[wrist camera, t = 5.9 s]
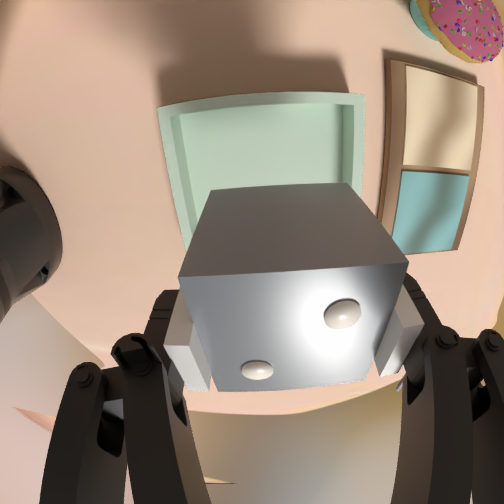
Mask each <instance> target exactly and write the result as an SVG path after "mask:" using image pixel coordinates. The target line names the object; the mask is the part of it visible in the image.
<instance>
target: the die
mask: <svg viewBox="0 0 504 504" xmlns="http://www.w3.org/2000/svg"><path fill="white" fill-rule="evenodd" d="M408 264H409V261H408V260H407V258H406V257H405V255H404V254H403V253H402V251H401V250H400V248H399V247H398V246H397V244H396V243H395V242H394V240H393V239H392V238H391V236H390V235H389V233H388V232H387V231H386V230H385V228H384V227H383V226H382V224H381V223H380V222H379V220H378V219H377V218H376V217H375V215H374V214H373V213H372V212H371V210H370V209H369V208H368V207H367V205H366V204H365V203H364V202H363V201H362V199H361V198H360V197H359V196H358V195H357V193H356V192H355V191H354V190H353V189H352V188H351V186H350V185H349V184H348V183H312V184H287V185H269V186H254V187H240V188H228V189H217V190H211V191H210V194H209V196H208V199H207V201H206V203H205V206H204V208H203V211H202V213H201V216H200V219H199V221H198V224H197V226H196V229H195V231H194V234H193V237H192V239H191V242H190V245H189V247H188V250H187V253H186V256H185V258H184V261H183V264H182V267H181V269H180V272H179V275H178V280H179V283H180V286H181V289H182V293H183V296H184V299H185V302H186V305H187V308H188V311H189V314H190V317H191V320H192V323H194V325H195V328H196V331H197V334H198V337H199V340H200V343H201V345H202V348H203V351H204V354H205V356H206V359H207V362H208V364H209V367H210V370H211V375H212V378H213V380H214V383H215V385H216V388H217V390H218V392H249V391H275V390H290V389H302V388H312V387H321V386H330V385H337V384H344V383H351V382H357V381H363V380H365V378H366V376H367V374H368V372H369V370H370V368H371V365H372V363H373V361H374V358H375V356H376V353H377V351H378V349H379V346H380V344H381V341H382V339H383V336H384V334H385V331H386V329H387V326H388V323H389V321H390V318H391V315H392V312H393V309H394V308H395V305H396V303H397V300H398V297H399V294H400V291H401V287H402V284H403V281H404V278H405V274H406V271H407V267H408Z"/></svg>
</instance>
